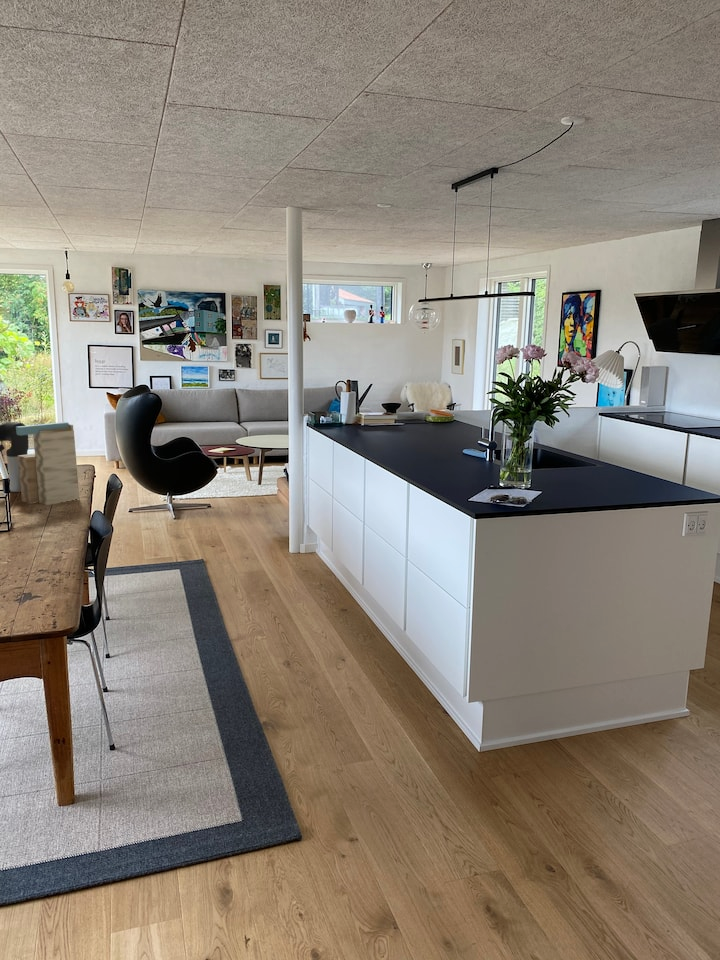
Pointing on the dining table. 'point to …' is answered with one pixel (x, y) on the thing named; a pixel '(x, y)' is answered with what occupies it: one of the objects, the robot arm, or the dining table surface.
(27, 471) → the oak step
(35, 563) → the dining table surface
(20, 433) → the teal block
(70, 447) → the birch stand
